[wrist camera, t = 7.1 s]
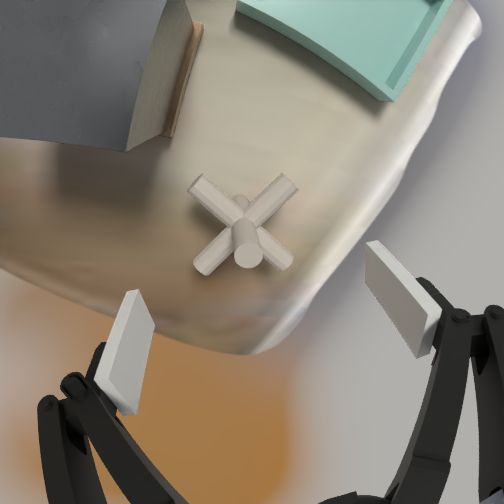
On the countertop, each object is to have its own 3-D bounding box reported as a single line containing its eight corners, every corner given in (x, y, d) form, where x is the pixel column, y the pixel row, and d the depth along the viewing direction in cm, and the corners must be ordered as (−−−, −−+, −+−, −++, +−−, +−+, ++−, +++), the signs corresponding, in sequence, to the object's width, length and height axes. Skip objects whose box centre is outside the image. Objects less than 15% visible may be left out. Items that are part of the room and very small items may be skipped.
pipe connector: (312, 203, 29) (352, 251, 20) (240, 269, 31) (248, 337, 23) (238, 128, 25) (248, 142, 16) (163, 207, 27) (139, 260, 19)
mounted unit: (49, 118, 22) (-44, 142, 10) (72, 20, 17) (-10, -11, 6) (173, 135, 24) (133, 164, 13) (203, 29, 20) (190, -31, 9)
